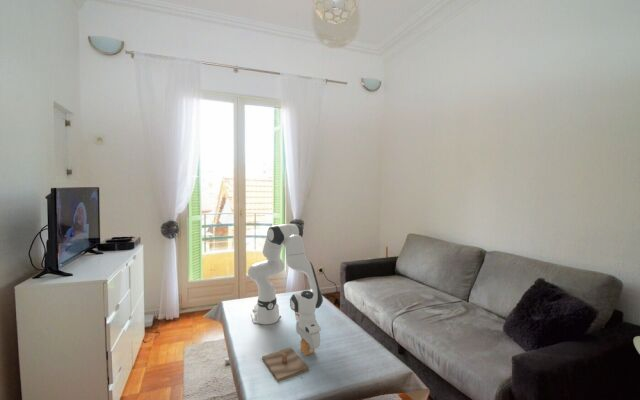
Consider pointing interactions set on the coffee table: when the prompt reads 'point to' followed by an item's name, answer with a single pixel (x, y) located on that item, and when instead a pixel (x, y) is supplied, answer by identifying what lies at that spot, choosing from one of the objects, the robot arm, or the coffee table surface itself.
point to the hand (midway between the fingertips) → (307, 347)
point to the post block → (284, 364)
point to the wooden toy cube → (305, 348)
